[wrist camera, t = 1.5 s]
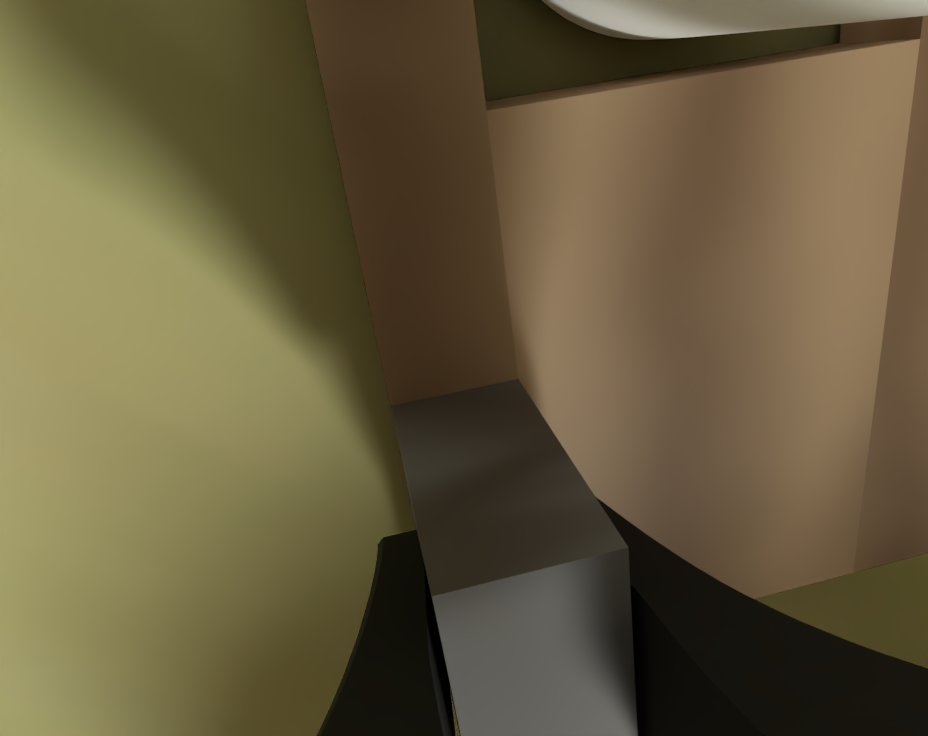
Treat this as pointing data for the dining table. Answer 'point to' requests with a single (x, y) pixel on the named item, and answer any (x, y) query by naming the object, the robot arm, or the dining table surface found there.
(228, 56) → the dining table surface
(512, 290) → the tan channel tray
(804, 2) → the can
